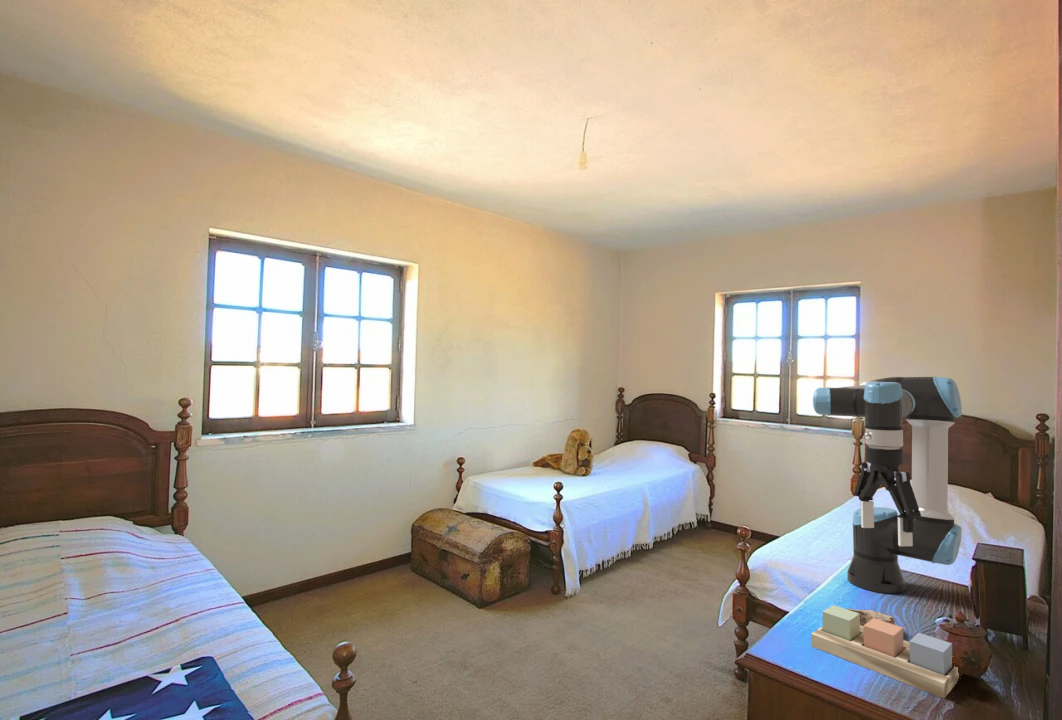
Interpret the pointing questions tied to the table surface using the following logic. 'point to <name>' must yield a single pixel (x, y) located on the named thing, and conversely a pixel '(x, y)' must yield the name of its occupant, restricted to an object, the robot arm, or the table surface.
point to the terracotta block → (883, 637)
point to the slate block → (931, 653)
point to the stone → (872, 616)
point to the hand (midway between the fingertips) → (885, 536)
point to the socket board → (886, 662)
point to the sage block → (841, 622)
